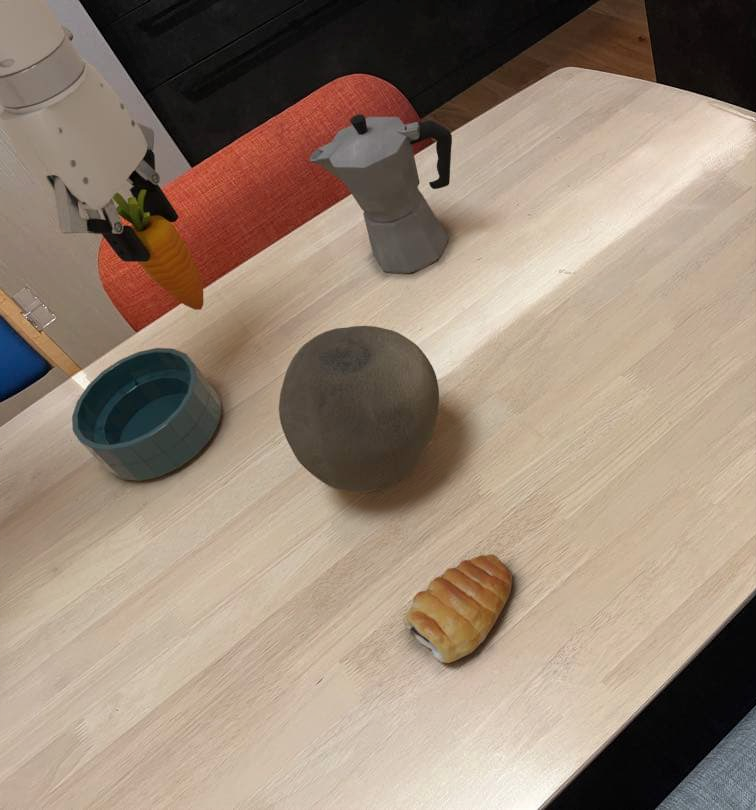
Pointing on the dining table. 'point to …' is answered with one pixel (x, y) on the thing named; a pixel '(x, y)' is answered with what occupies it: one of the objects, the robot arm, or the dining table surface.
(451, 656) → the pastry
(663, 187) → the dining table surface
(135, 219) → the carrot
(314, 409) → the brown coconut
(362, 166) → the coffeepot
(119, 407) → the bowl
